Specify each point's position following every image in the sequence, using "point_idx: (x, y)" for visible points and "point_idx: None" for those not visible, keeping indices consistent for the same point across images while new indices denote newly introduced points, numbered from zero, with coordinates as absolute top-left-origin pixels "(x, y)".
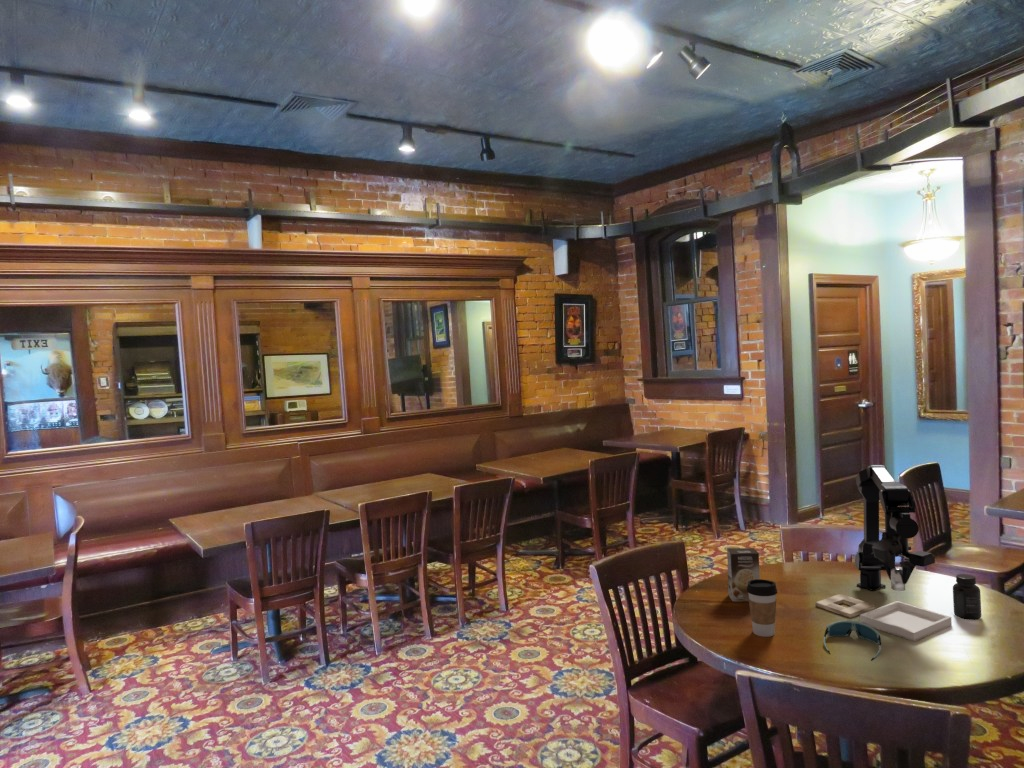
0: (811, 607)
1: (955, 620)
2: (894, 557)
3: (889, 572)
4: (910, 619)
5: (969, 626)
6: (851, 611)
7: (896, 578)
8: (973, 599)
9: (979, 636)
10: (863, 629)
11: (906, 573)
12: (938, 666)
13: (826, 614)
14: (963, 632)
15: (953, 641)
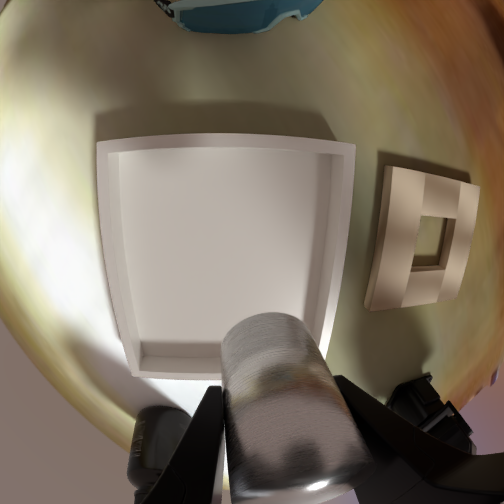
0: (473, 166)
1: (160, 390)
2: None
3: (367, 420)
4: (230, 307)
5: (117, 379)
6: (400, 194)
7: (268, 392)
8: (130, 455)
9: (62, 339)
10: (252, 13)
11: (165, 474)
12: (13, 71)
13: (436, 142)
14: (92, 337)
15: (58, 257)
